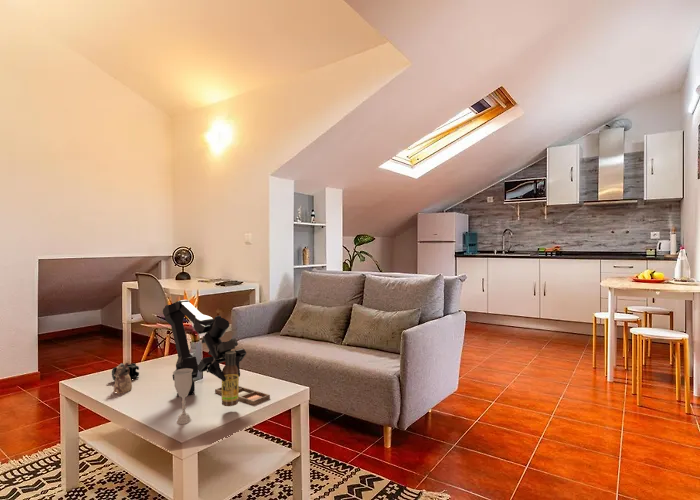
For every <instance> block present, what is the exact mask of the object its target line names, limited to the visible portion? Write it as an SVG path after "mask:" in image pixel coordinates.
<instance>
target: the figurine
mask: <svg viewBox="0 0 700 500" xmlns="http://www.w3.org/2000/svg"><path fill="white" fill-rule="evenodd" d="M129 364H130V363H129V362H125V364H124V363H120V364H119V365H117V366H116V367H117V369H116V373H115V375H114V376H115V377H116V379H115V381H114V386H113V393H114V392H117V393H116V394H124V393H123V392H125V393H129V392H130V391H132V388H133V383H132V380H131V378H130V376H129V372H130V370H129V368H128V367H127V365H129ZM126 369H127V370H128V371H127V372H125V370H126Z"/></svg>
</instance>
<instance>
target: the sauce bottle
mask: <svg viewBox="0 0 700 500" xmlns="http://www.w3.org/2000/svg"><path fill="white" fill-rule="evenodd" d="M235 357H236V352H235V350H231V351H227V352H225V362H224V364H225V365H224V366H223V368H222V369H221V370H222V372H223V374H224V376H225V379H226V380H225V381H222V380H221V387H222V395H221V405H222V406H224V407H234V406H236V405H238V404H239V400H238V394H239V386H240V385H239V383H240V382H239V378H240V377H239V375H238V367H237V366H236V362H235V361H236V360H235Z"/></svg>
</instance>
